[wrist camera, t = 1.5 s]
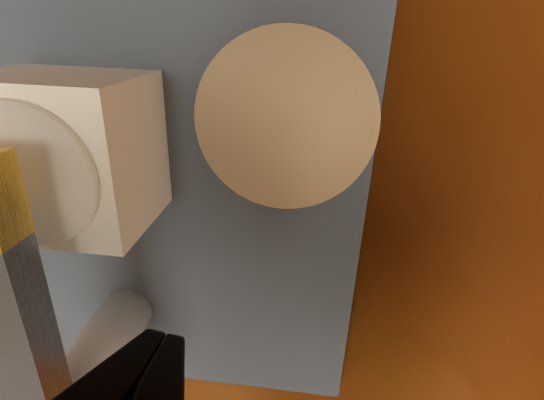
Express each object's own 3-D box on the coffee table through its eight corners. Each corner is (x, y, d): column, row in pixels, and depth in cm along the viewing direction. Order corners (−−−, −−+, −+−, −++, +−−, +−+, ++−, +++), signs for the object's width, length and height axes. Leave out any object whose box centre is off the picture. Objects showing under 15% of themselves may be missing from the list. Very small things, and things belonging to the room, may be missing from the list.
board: (-114, -20, 16) (-412, -50, 9) (392, -5, 14) (452, -29, 8) (4, 338, 24) (-114, 455, 17) (337, 378, 22) (343, 526, 15)
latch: (107, 457, 15) (90, 493, 14) (19, 444, 15) (-5, 478, 14) (40, 149, 10) (3, 165, 9) (-90, 139, 10) (-142, 154, 9)
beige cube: (28, 63, 15) (-96, 80, 11) (161, 70, 15) (90, 90, 10) (55, 190, 18) (-38, 248, 13) (171, 199, 17) (117, 263, 12)
